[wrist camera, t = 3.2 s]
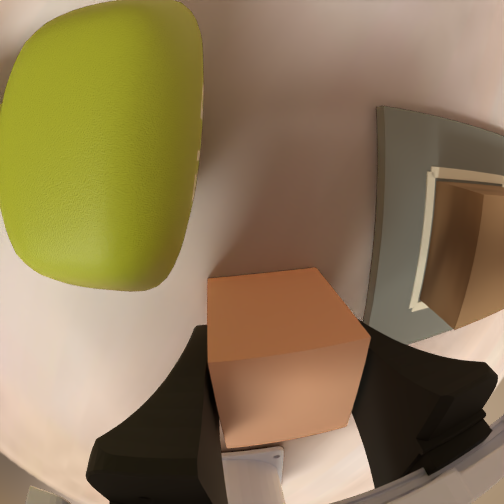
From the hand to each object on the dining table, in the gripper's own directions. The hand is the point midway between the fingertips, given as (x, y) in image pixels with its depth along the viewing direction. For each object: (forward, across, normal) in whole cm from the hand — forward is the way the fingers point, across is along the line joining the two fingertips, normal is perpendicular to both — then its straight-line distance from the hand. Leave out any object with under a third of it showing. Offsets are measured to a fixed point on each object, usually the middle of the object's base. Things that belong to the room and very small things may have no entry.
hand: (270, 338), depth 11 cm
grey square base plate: (+1, -11, -3) cm, 11 cm away
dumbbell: (+2, +10, -9) cm, 13 cm away
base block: (+1, -11, -3) cm, 11 cm away
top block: (+1, 0, 0) cm, 1 cm away
